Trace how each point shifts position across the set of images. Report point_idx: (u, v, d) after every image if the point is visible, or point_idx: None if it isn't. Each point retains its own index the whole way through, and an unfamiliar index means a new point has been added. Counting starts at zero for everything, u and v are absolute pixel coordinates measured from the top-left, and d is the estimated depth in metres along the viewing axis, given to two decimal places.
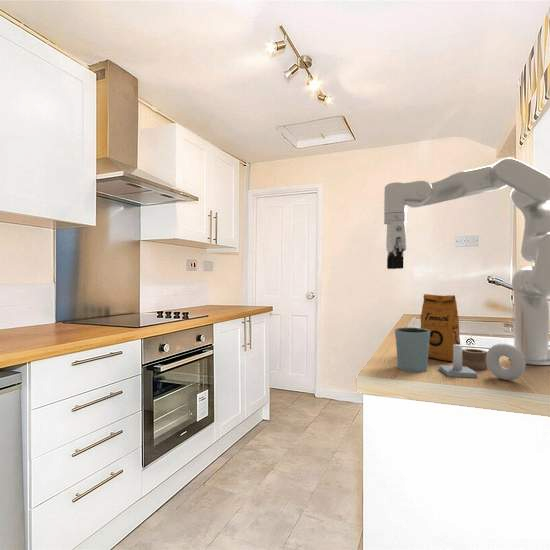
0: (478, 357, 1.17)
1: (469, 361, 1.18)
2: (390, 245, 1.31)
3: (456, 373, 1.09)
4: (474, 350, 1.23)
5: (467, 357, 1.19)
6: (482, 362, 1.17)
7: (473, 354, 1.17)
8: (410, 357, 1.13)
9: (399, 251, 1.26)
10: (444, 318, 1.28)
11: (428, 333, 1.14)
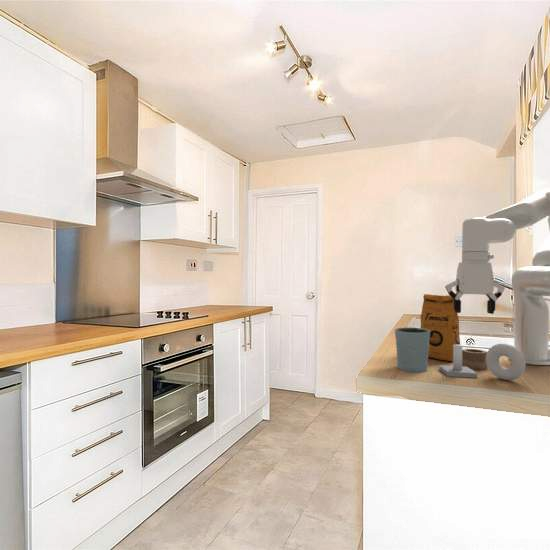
0: (478, 357, 1.17)
1: (469, 361, 1.18)
2: (487, 288, 1.18)
3: (456, 373, 1.09)
4: (474, 350, 1.23)
5: (467, 357, 1.19)
6: (482, 362, 1.17)
7: (473, 354, 1.17)
8: (410, 357, 1.13)
9: None
10: (444, 318, 1.28)
11: (428, 333, 1.14)
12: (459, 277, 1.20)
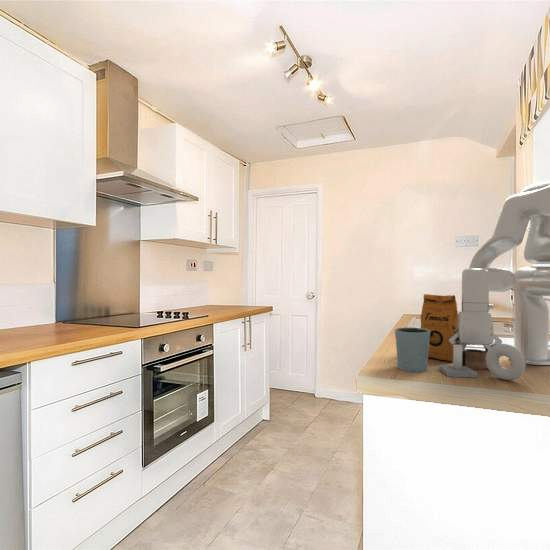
0: (478, 357, 1.17)
1: (469, 361, 1.18)
2: (487, 339, 1.18)
3: (456, 373, 1.09)
4: (474, 350, 1.23)
5: (467, 357, 1.19)
6: (482, 362, 1.17)
7: (473, 354, 1.17)
8: (410, 357, 1.13)
9: None
10: (444, 318, 1.28)
11: (428, 333, 1.14)
12: (459, 327, 1.20)
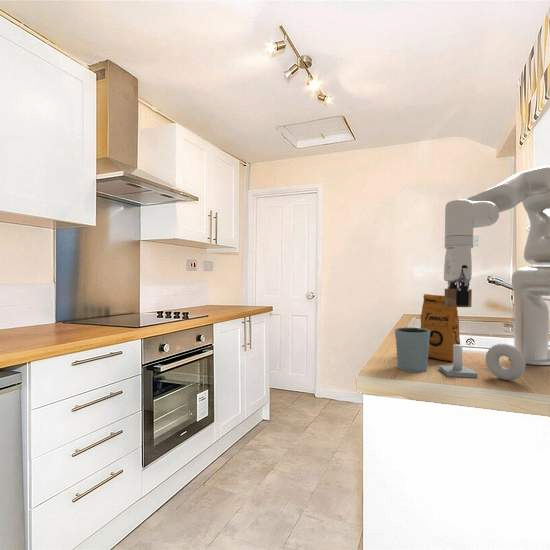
0: None
1: (469, 299, 1.10)
2: None
3: (456, 373, 1.09)
4: None
5: None
6: None
7: (471, 291, 1.10)
8: (410, 357, 1.13)
9: None
10: (444, 318, 1.28)
11: (428, 333, 1.14)
12: (468, 263, 1.07)
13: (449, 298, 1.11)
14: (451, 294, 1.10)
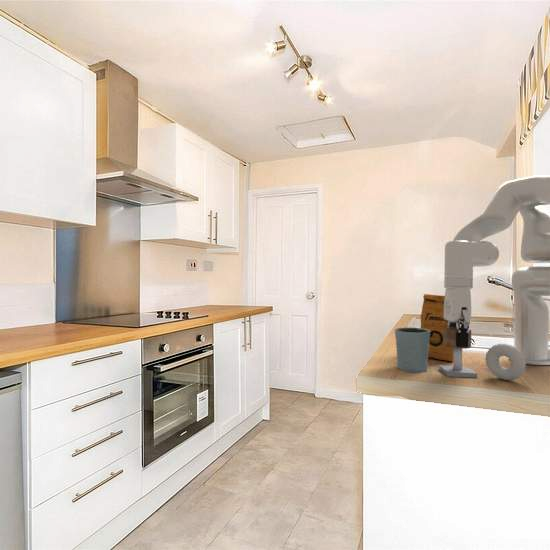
0: None
1: (468, 340, 1.10)
2: None
3: (456, 373, 1.09)
4: None
5: None
6: None
7: (470, 331, 1.10)
8: (410, 357, 1.13)
9: None
10: None
11: (428, 333, 1.14)
12: (468, 305, 1.07)
13: (449, 339, 1.11)
14: (451, 335, 1.10)
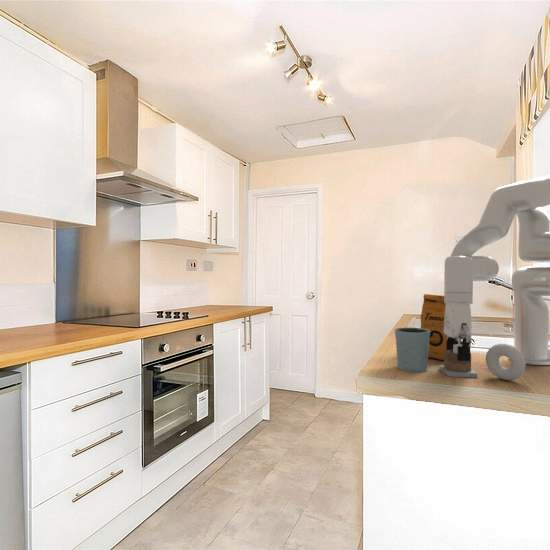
0: None
1: (468, 363, 1.10)
2: None
3: (456, 373, 1.09)
4: None
5: None
6: None
7: (470, 355, 1.11)
8: (410, 357, 1.13)
9: None
10: None
11: (428, 333, 1.14)
12: (468, 321, 1.07)
13: (449, 362, 1.11)
14: (450, 358, 1.11)
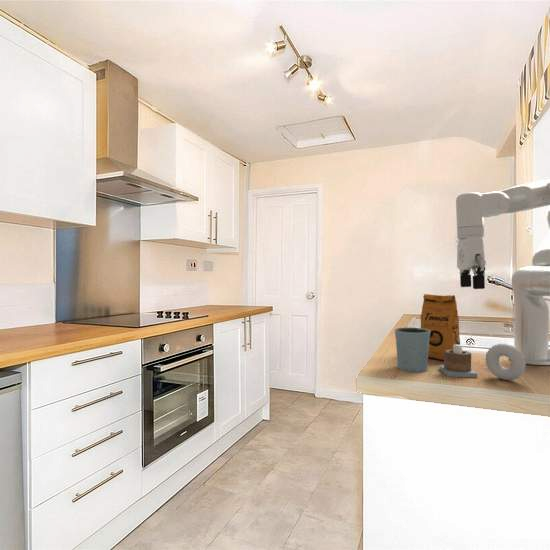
0: None
1: (468, 363, 1.10)
2: None
3: (456, 373, 1.09)
4: None
5: (467, 360, 1.10)
6: None
7: (470, 355, 1.11)
8: (410, 357, 1.13)
9: None
10: (444, 318, 1.28)
11: (428, 333, 1.14)
12: (481, 252, 1.15)
13: (449, 362, 1.11)
14: (450, 358, 1.11)
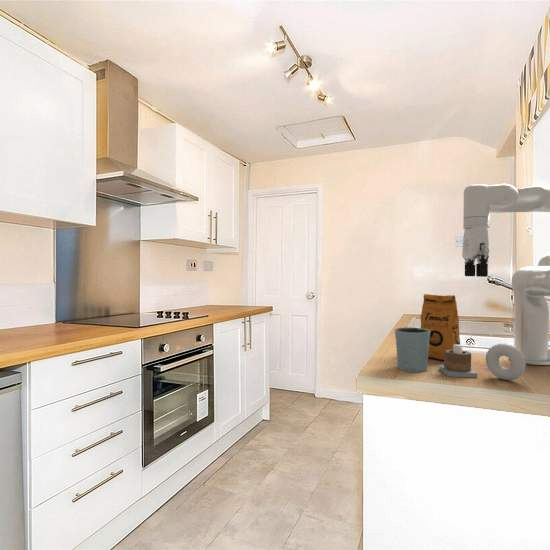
0: None
1: (468, 363, 1.10)
2: None
3: (456, 373, 1.09)
4: None
5: (467, 360, 1.10)
6: None
7: (470, 355, 1.11)
8: (410, 357, 1.13)
9: None
10: (444, 318, 1.28)
11: (428, 333, 1.14)
12: (485, 241, 1.20)
13: (449, 362, 1.11)
14: (450, 358, 1.11)
